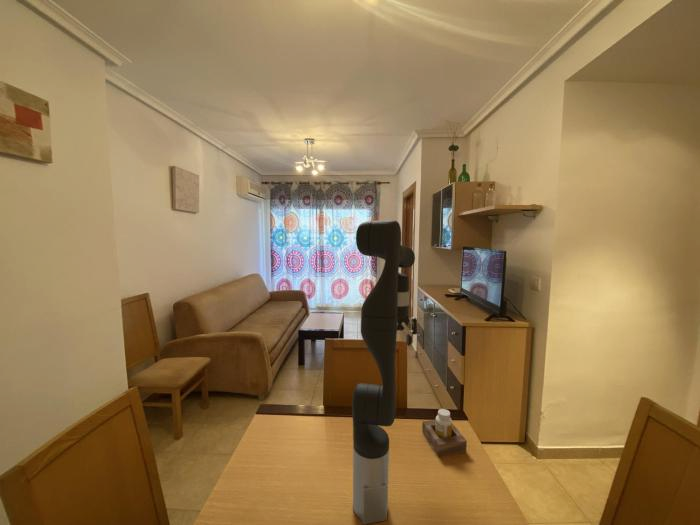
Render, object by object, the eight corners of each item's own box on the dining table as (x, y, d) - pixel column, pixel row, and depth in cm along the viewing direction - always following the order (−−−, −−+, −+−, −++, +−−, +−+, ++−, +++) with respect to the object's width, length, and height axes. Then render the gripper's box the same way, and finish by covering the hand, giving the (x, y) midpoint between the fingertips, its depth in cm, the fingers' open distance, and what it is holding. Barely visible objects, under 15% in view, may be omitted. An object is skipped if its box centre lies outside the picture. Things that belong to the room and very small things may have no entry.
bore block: (466, 452, 98) (466, 440, 98) (438, 456, 96) (438, 444, 96) (447, 428, 110) (448, 418, 109) (422, 431, 108) (422, 421, 107)
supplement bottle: (449, 433, 105) (450, 407, 104) (452, 444, 100) (454, 417, 99) (433, 432, 106) (434, 406, 105) (436, 443, 100) (437, 416, 99)
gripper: (382, 306, 103) (381, 351, 105) (421, 304, 106) (419, 348, 107) (376, 301, 110) (376, 343, 112) (412, 299, 113) (411, 340, 115)
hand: (397, 345), depth 110 cm, fingers open, 8 cm apart
